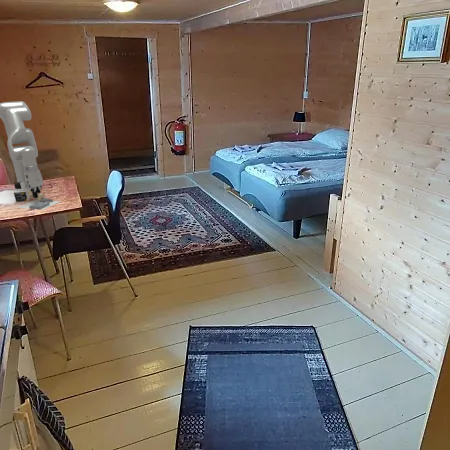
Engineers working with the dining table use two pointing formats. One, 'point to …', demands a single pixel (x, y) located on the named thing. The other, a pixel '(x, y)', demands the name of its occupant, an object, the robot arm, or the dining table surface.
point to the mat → (36, 202)
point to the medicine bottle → (21, 192)
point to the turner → (40, 197)
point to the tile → (39, 205)
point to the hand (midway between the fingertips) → (37, 196)
